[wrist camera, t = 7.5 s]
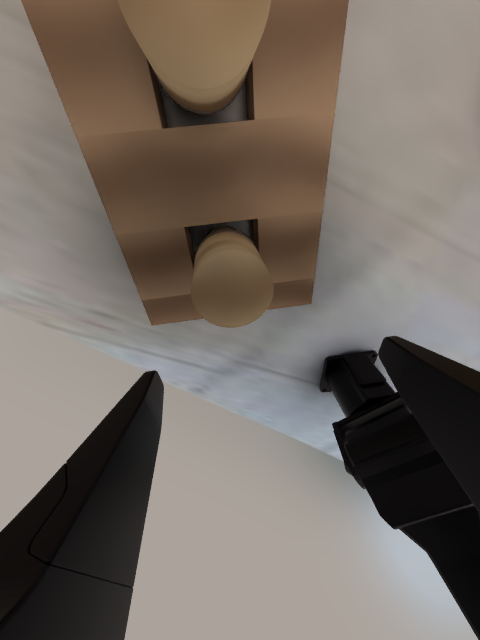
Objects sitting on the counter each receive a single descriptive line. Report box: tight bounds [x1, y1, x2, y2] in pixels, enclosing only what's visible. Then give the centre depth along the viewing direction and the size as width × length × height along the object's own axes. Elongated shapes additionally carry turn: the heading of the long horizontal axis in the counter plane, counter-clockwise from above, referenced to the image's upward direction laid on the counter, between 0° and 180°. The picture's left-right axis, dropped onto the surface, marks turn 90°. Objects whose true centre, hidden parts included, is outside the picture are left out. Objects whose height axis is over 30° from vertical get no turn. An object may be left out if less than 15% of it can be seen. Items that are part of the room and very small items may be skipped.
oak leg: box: [191, 226, 274, 327], centre depth 15 cm, size 4×4×8 cm
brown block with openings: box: [21, 0, 349, 325], centre depth 12 cm, size 20×14×8 cm
